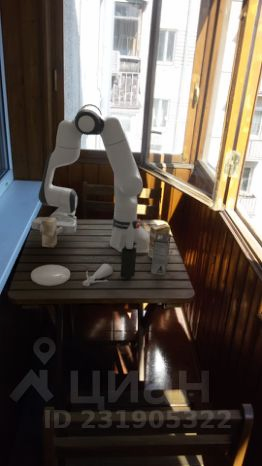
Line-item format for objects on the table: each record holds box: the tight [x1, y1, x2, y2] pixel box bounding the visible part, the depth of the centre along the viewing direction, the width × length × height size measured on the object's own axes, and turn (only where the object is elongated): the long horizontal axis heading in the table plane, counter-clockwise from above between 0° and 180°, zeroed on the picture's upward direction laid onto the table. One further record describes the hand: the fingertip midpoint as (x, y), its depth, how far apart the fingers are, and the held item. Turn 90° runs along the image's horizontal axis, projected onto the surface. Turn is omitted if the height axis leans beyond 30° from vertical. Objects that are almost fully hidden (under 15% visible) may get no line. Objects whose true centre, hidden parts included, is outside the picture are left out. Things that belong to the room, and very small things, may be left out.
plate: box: [30, 264, 71, 287], centre depth 162 cm, size 16×16×1 cm
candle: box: [119, 222, 137, 280], centre depth 162 cm, size 5×5×25 cm
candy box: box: [147, 223, 171, 259], centre depth 184 cm, size 9×4×15 cm, turn 125°
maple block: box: [41, 216, 58, 248], centre depth 172 cm, size 5×5×12 cm
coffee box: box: [150, 233, 172, 276], centre depth 171 cm, size 9×6×16 cm
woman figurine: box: [82, 263, 114, 287], centre depth 163 cm, size 12×4×18 cm
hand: (48, 231), depth 171 cm, fingers closed on maple block, 5 cm apart
